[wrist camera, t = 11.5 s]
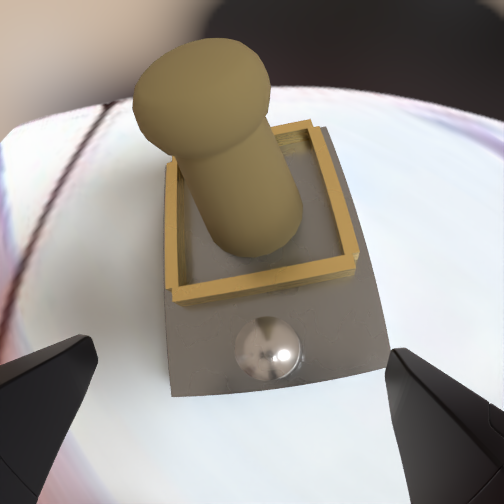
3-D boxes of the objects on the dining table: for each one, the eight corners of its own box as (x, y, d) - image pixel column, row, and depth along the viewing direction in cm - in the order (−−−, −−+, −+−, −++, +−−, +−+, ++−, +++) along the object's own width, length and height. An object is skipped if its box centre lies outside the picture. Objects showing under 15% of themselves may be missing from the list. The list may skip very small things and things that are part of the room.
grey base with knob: (383, 366, 16) (402, 364, 12) (189, 394, 18) (153, 398, 14) (327, 148, 22) (324, 106, 18) (178, 183, 24) (153, 149, 20)
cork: (208, 178, 21) (131, 46, 11) (297, 165, 19) (266, 9, 9) (204, 262, 18) (86, 142, 8) (308, 252, 17) (280, 92, 7)
